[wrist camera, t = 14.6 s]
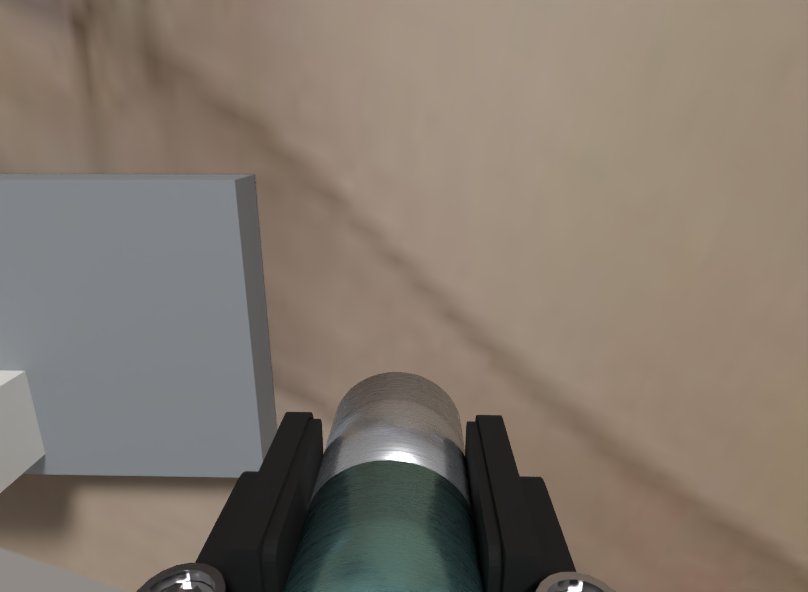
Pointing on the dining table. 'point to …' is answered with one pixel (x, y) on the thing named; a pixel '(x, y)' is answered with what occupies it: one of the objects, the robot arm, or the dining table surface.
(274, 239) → the dining table surface
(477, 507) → the robot arm
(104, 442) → the subfloor panel
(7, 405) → the white rectangular block
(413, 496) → the green silver cylinder
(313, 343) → the dining table surface
